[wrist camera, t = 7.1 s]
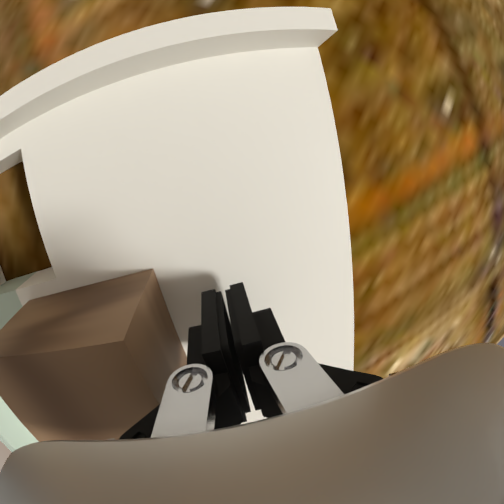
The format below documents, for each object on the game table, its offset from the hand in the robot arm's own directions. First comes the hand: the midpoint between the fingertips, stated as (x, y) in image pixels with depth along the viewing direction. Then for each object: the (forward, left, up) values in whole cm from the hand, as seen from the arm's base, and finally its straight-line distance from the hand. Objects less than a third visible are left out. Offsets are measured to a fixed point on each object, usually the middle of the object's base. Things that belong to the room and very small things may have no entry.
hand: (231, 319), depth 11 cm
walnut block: (+6, 0, -1) cm, 6 cm away
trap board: (+6, 0, -3) cm, 7 cm away
